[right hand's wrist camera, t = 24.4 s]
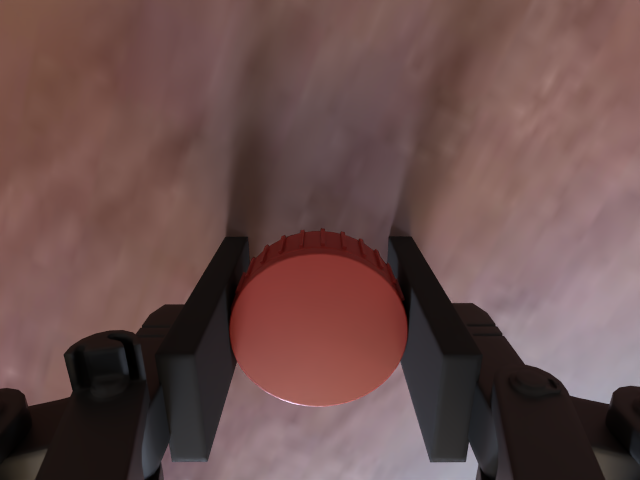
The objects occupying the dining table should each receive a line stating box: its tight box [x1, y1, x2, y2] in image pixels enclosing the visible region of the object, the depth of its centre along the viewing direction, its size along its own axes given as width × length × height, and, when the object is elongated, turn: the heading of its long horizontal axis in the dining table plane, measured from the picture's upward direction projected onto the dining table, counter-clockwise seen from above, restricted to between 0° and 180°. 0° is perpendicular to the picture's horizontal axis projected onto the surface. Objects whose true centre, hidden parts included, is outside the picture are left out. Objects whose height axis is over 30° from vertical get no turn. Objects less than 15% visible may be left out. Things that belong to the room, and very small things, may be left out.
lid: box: [229, 229, 408, 407], centre depth 12 cm, size 5×5×2 cm
